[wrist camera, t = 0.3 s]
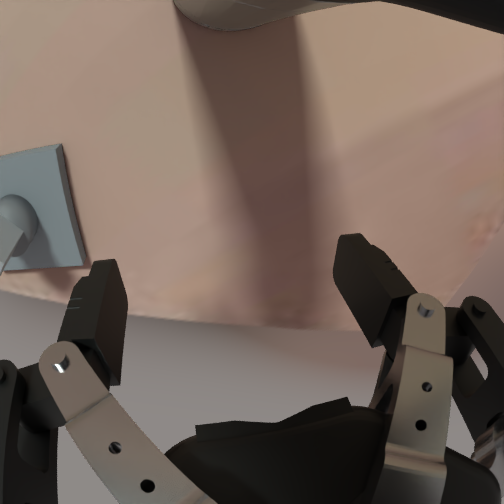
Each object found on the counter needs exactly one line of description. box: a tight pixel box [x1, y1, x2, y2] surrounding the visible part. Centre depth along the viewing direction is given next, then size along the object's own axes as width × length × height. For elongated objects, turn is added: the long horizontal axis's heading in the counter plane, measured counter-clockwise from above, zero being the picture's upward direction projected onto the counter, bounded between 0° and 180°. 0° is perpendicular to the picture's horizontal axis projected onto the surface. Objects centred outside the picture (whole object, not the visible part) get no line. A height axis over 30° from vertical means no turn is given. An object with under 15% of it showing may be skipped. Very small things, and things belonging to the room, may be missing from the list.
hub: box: [0, 144, 86, 276], centre depth 21 cm, size 12×12×8 cm
